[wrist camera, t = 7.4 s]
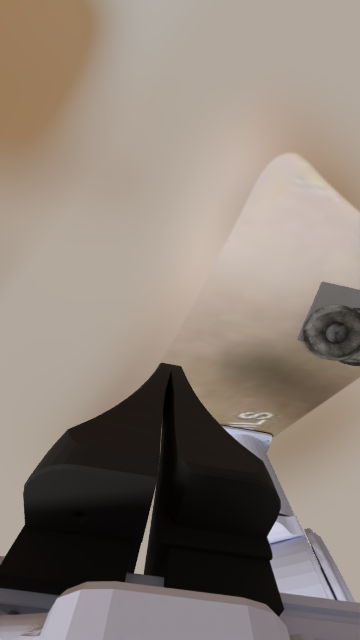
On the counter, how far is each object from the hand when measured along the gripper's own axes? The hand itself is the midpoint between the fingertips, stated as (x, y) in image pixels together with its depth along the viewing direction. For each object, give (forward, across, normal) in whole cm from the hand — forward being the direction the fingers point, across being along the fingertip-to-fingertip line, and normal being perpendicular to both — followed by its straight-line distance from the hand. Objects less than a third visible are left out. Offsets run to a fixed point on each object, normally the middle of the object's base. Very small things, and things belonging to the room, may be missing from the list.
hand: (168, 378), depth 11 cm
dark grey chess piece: (+6, -14, -4) cm, 16 cm away
